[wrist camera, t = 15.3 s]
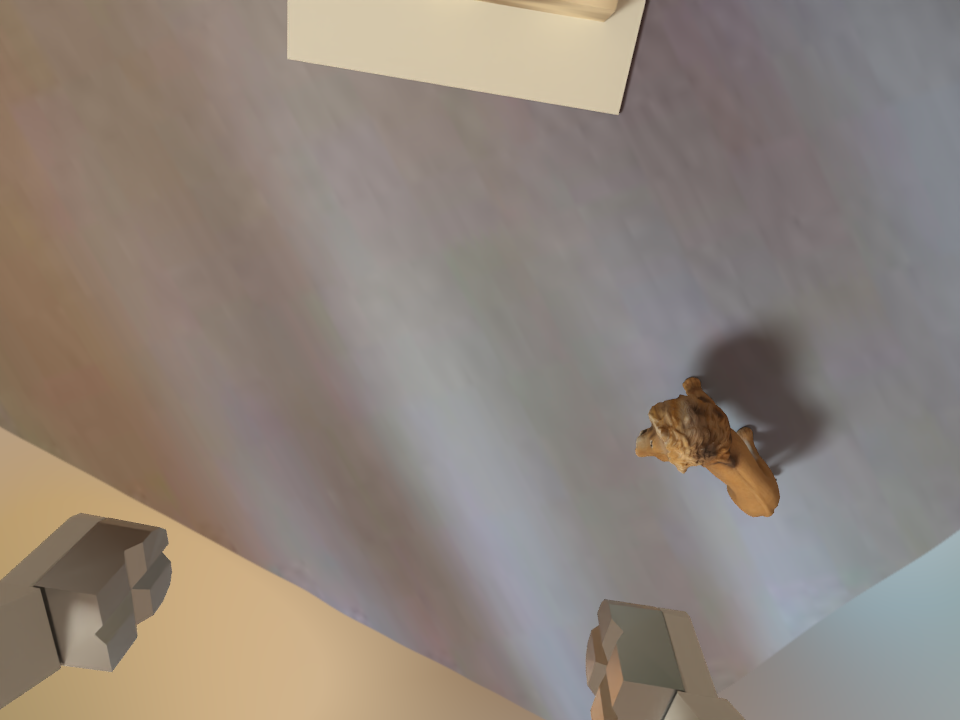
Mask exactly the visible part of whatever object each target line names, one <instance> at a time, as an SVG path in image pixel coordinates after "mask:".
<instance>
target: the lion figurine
mask: <svg viewBox="0 0 960 720" xmlns="http://www.w3.org/2000/svg"><path fill="white" fill-rule="evenodd" d="M683 387H684V389H685V390H686V394H687V395H688V396H685V395H679V397H678V398H676V399H671V400H667V401H664V402H663V403H662V402H660V403H657V404H656V405H655V406H652V408H651V409H650V411H649V414H648V415H649V419H650V421H651V423H652V426H651V427H650V428H648V429H645V430H642V431H641V432H640V436H639V437H638V438H637V440H636V449H635V450H636V454H637V456H639V457H646V456H655V457H657V458H658V459H660V460H661V461H664V462H665V461H669V462H671V463H672V464H674V465H675V466H676V467H677V469H678V470H679V471H680V472H681V473H685V472H686V470H687V468H688V467H690V466H697V465H701V466H703V467H706V468H707V469H708V470H709V471H710V472H711V473H712V474H714V475H715V476H716V477H717V478H719V479H720V480H721V481H723V482H724V483H725V484H727V491H728V493H729V495H730V497H731V499H732V500H733V501H734V503H735V504H736V505H737V506H738V507H739V508H740V509H741V510H742V511H744V512H745V513H746V514H748V515H750V516H752V517H758V516H765V517H770V516H771V515H772V514H773V513H774V509H775V508H776V507H777V506H778V503H779V499H780V494H779V488H778V485H777V482H776V481H777V479H775V477H774V475H773V473H772V472H771V470H770V468H769V467H768V465H767V464H766V463H765V461H764V460H763V459H762V458H761V457H760V456H759V453H758V451H757V449H756V447H755V445H754V442H753V432H752V430H751V429H750V428H748V427H743V428H741V429H740V430H738V431H737V433H736V432H735V431H734V430H733V429H731V428H730V425H729V421H728V418H727V415H726V414H725V413H724V412H723V411H722V409H721V408H720V407H718V406H717V405H716V404H715V402H714V401H713V400H712V399H711V398H710V397H709V396H708V395H707V394H706V393H705V392H703V390H702V388H701V383H700V380H699V379H698V378H694V377H691V378H688V379H686V380H685V382H684V383H683Z"/></svg>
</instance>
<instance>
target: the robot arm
mask: <svg viewBox="0 0 960 720" xmlns="http://www.w3.org/2000/svg"><path fill="white" fill-rule="evenodd" d="M167 545H168V538H167V533H166V530H165V529H162V528H160V527H154V526H149V525H144V524H139V523H133V522H128V521H123V520H118V519H113V518H105V517H100V516H94V515H89V514H83V513H80V514H77V515H75V516H72V517H70V518H69V519H68V520H67V521H66V522H65V523H63V524H62V525H61V526H60V527H59V528H58V529H57V530H56V531H54V532H53V533H52V534H51V535H50V536H49V537H48V538H47V539H46V540H45V541H43V542H42V543H41V544H40V545H39V546H38V547H37V548H36V549H35V550H33V551H32V552H31V553H30V554H29V555H28V556H27V557H26V558H25V559H23V560H22V561H21V563H19V564H18V565H17V566H16V567H15V568H14V569H12V570H11V571H10V572H9V573H8V574H7V575H6V576H5V577H4V578H3V579H1V580H0V709H1V708H3V707H4V706H6V705H7V704H9V703H10V702H12V701H13V700H15V699H16V698H18V697H19V696H21V695H22V694H24V693H25V692H27V691H28V690H30V689H31V688H32V687H34V686H36V685H37V684H39V683H40V682H41V681H43V680H44V679H46V678H47V677H49V676H50V675H52V674H53V673H55V672H56V671H58V670H59V669H60V668H61V665H63V666H71V667H79V668H86V669H94V670H102V671H109V672H112V671H113V670H114V668H115V667H116V666H117V664H118V663H119V661H120V660H121V659H122V658H123V656H124V655H125V653H126V652H127V650H128V649H129V648H130V646H131V645H132V644H133V642H134V641H135V640H136V638H137V624H139V623H140V622H142V621H144V620H145V619H147V618H149V617H151V616H153V615H154V613H155V612H156V610H157V609H158V608H159V606H160V605H161V603H162V602H163V600H164V597H165V595H166V593H167V590H168V588H169V585H170V581H171V574H172V569H171V562H170V560H169V559H168V558H167V557H166V556H165V555H164V554H163V553H162V551H163V550H164V549H165V547H166V546H167ZM597 615H598V621H599V626H597V627H596V628H594V629H593V630H591V633H590V637H589V640H588V644H587V652H586V676H587V685H588V687H589V688H590V689H591V691H592V692H593V693H594V695H595V699H594V702H593V705H592V707H591V710H590V711H591V718H592V720H745V719H744V718H743V717H742V716H741V714H740V713H739V712H738V711H737V710H736V709H735V708H734V707H733V706H732V705H731V703H730V702H729V701H728V700H726V699H722V698H718V696H717V693H716V690H715V687H714V684H713V682H712V679H711V676H710V673H709V670H708V667H707V664H706V661H705V659H704V656H703V653H702V650H701V647H700V644H699V641H698V639H697V636H696V633H695V630H694V627H693V624H692V621H691V618H690V616H689V615H688V614H687V613H686V612H684V611H678V610H671V609H665V608H656V607H653V606H646V605H640V604H633V603H627V602H620V601H613V600H607V599H604V601H603V602H602V603H601V605H600V607H599V610H598V613H597Z"/></svg>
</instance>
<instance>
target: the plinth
mask: <svg viewBox="0 0 960 720" xmlns="http://www.w3.org/2000/svg"><path fill="white" fill-rule="evenodd" d="M476 1H482V2H488V3H494V4H500V5H506V6H512V7H517V8H523V9H529V10H535V11H541V12H547V13H553V14H559V15H564V16H570V17H576V18H582V19H588V20H594V21H600V22H605V21H606V20H607V19H608V18H609V17H610V16H611V15H612V14H613V13H614V12H615V11H616V7H617V2H618V0H476Z"/></svg>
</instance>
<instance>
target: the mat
mask: <svg viewBox="0 0 960 720" xmlns="http://www.w3.org/2000/svg"><path fill="white" fill-rule="evenodd" d="M645 1H646V0H618V2H617V7H616V11H615V12H614V13H613V14H612V15H611V16H610V17H609V18H608V19H607V20H606V21H605V22H600V21H594V20H588V19H582V18H576V17H570V16H564V15H559V14H553V13H547V12H541V11H535V10H529V9H523V8H517V7H512V6H506V5H500V4H494V3H488V2H482V1H476V0H288V33H287V59H291V60H297V61H303V62H308V63H314V64H320V65H326V66H332V67H338V68H344V69H350V70H356V71H362V72H368V73H373V74H379V75H385V76H391V77H397V78H403V79H409V80H415V81H421V82H427V83H432V84H438V85H444V86H450V87H456V88H462V89H468V90H474V91H480V92H486V93H492V94H497V95H503V96H509V97H515V98H521V99H527V100H533V101H539V102H545V103H551V104H556V105H562V106H568V107H574V108H580V109H586V110H592V111H598V112H604V113H610V114H616V115H619V110H620V106H621V102H622V98H623V94H624V89H625V85H626V81H627V77H628V73H629V68H630V64H631V60H632V56H633V52H634V47H635V43H636V39H637V35H638V31H639V26H640V22H641V18H642V14H643V10H644V5H645Z"/></svg>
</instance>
